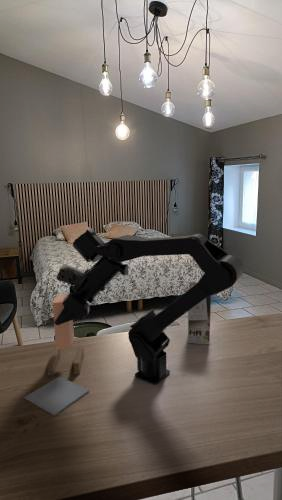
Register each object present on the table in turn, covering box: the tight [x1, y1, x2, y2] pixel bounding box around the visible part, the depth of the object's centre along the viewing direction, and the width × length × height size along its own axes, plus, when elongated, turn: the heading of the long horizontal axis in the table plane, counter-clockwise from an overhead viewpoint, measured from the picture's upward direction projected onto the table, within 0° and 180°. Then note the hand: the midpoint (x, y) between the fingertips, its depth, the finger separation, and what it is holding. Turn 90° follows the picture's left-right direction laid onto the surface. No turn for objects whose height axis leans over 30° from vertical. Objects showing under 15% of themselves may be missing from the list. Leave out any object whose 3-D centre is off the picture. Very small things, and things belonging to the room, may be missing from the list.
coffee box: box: [187, 282, 212, 345], centre depth 104 cm, size 9×6×16 cm
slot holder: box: [46, 345, 85, 376], centre depth 90 cm, size 8×9×3 cm
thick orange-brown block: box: [52, 294, 75, 349], centre depth 88 cm, size 4×6×12 cm, turn 2°
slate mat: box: [24, 376, 90, 417], centre depth 78 cm, size 10×10×1 cm
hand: (58, 318), depth 88 cm, fingers closed on thick orange-brown block, 6 cm apart
